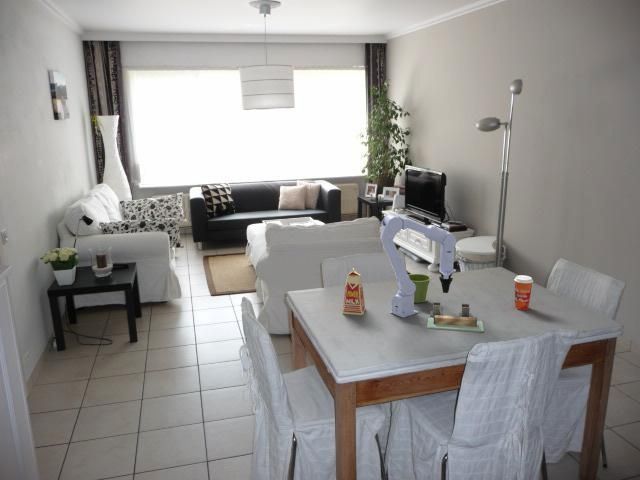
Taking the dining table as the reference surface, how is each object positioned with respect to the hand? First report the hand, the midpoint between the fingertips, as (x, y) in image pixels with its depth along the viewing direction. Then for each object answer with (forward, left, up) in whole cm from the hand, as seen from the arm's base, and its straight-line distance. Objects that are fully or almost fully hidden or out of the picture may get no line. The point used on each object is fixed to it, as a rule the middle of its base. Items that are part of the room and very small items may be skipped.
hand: (445, 289), depth 231 cm
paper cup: (+28, -20, -10) cm, 36 cm away
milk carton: (-31, +25, -10) cm, 41 cm away
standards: (-3, -6, -9) cm, 11 cm away
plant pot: (0, +16, -10) cm, 19 cm away
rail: (-10, -14, -9) cm, 19 cm away
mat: (-10, -14, -9) cm, 20 cm away
